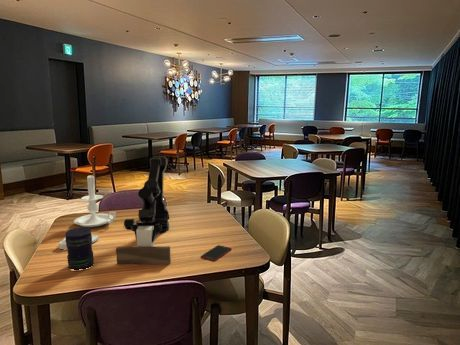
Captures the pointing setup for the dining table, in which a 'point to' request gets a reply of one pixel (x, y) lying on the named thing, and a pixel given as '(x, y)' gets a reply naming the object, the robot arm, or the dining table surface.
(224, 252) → the cell phone
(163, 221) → the robot arm
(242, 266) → the dining table surface
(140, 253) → the stand
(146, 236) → the off-white cabinet box
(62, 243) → the white brass knuckles
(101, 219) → the candlestick
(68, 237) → the storage jar
